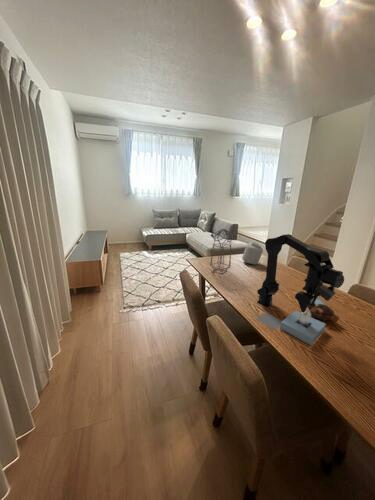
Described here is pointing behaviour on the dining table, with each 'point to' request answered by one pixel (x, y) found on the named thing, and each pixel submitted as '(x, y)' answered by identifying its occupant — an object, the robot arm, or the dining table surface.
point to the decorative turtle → (322, 312)
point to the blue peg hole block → (303, 328)
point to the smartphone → (319, 302)
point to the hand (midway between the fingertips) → (307, 308)
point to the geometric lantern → (222, 248)
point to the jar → (252, 253)
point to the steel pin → (304, 318)
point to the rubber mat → (270, 320)
